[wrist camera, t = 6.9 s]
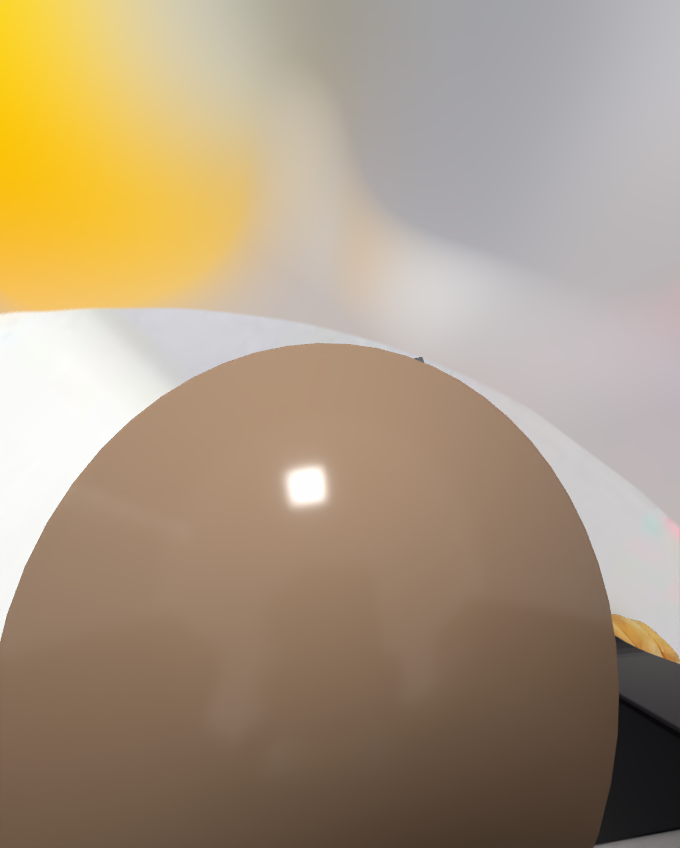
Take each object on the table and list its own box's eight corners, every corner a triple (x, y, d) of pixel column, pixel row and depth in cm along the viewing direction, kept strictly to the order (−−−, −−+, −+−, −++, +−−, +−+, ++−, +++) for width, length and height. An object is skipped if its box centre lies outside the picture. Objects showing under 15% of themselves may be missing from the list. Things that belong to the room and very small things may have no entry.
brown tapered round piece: (362, 589, 15) (670, 1106, 2) (244, 573, 14) (-211, 1104, 2) (375, 472, 16) (585, 389, 4) (271, 454, 16) (142, 300, 4)
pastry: (544, 719, 20) (597, 768, 16) (524, 616, 22) (568, 640, 18) (651, 703, 21) (722, 745, 18) (624, 606, 23) (683, 626, 19)
